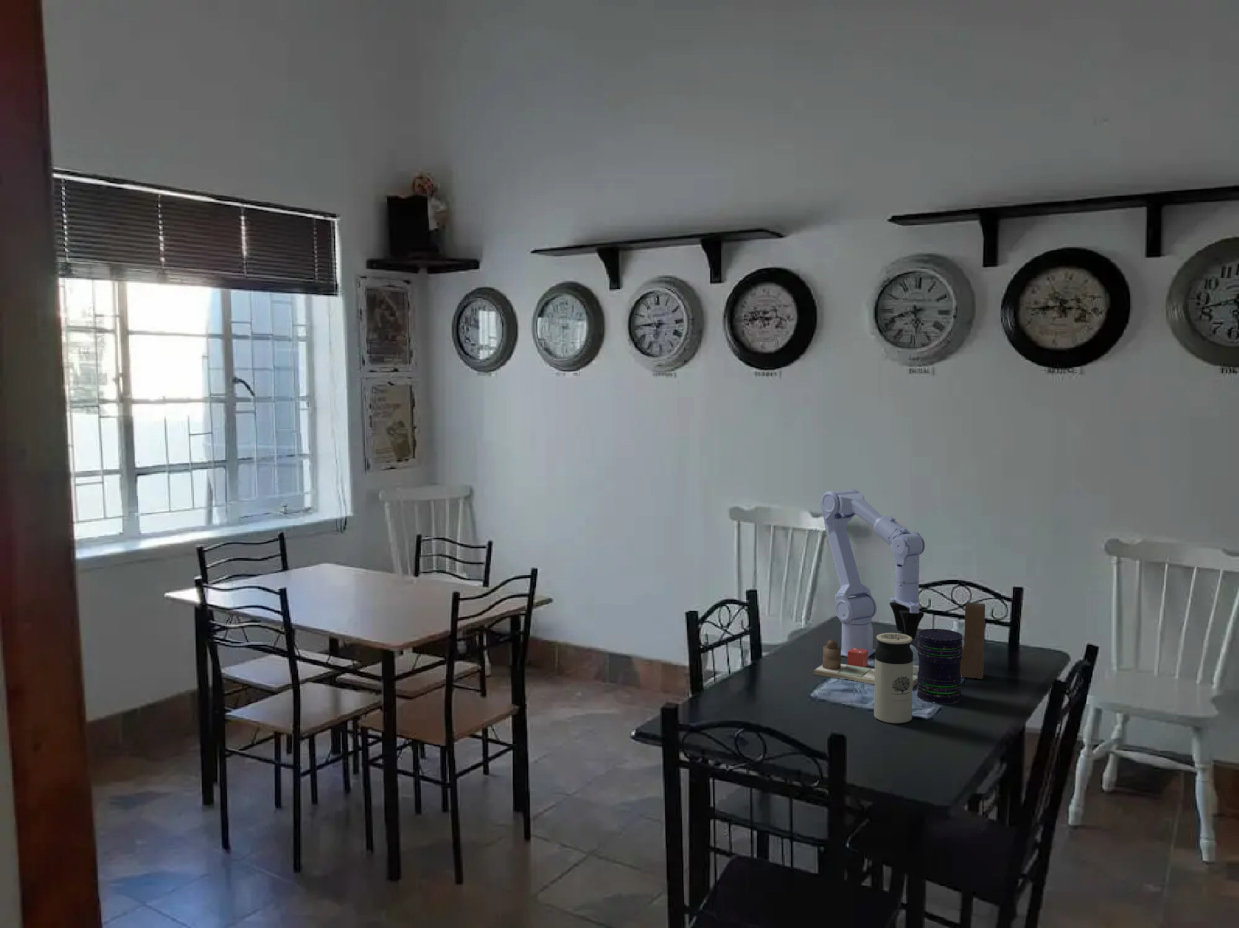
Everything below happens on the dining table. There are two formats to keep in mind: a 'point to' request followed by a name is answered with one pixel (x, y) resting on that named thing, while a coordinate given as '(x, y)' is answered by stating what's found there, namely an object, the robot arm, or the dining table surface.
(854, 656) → the red die
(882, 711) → the travel mug
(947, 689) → the storage jar
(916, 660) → the dome
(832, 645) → the pawn
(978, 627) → the wooden block
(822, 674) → the track board
